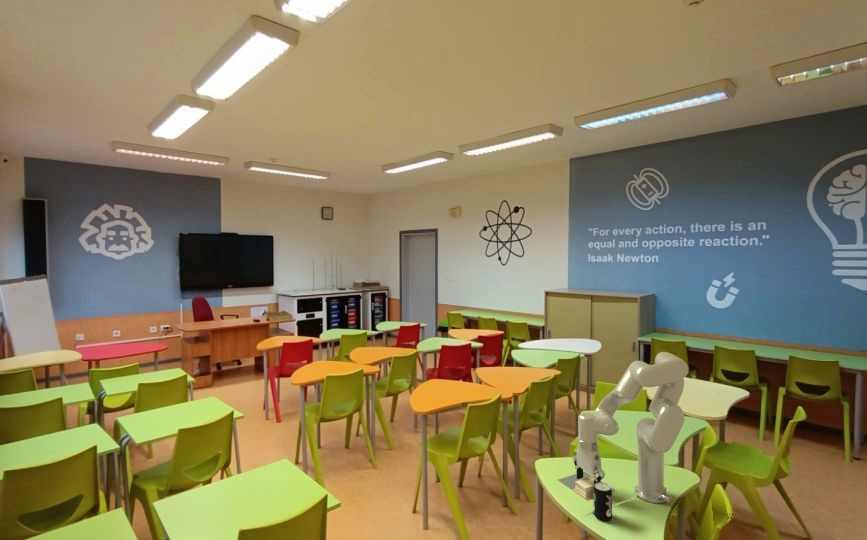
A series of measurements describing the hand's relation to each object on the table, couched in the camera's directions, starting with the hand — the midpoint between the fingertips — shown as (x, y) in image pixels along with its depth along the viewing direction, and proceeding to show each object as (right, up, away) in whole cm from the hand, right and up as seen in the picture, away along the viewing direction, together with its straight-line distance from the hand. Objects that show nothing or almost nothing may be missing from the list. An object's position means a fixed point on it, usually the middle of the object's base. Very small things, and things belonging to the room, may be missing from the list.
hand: (588, 483), depth 180 cm
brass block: (0, -3, 0) cm, 3 cm away
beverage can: (0, -5, -17) cm, 17 cm away
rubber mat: (+1, -4, +5) cm, 6 cm away
